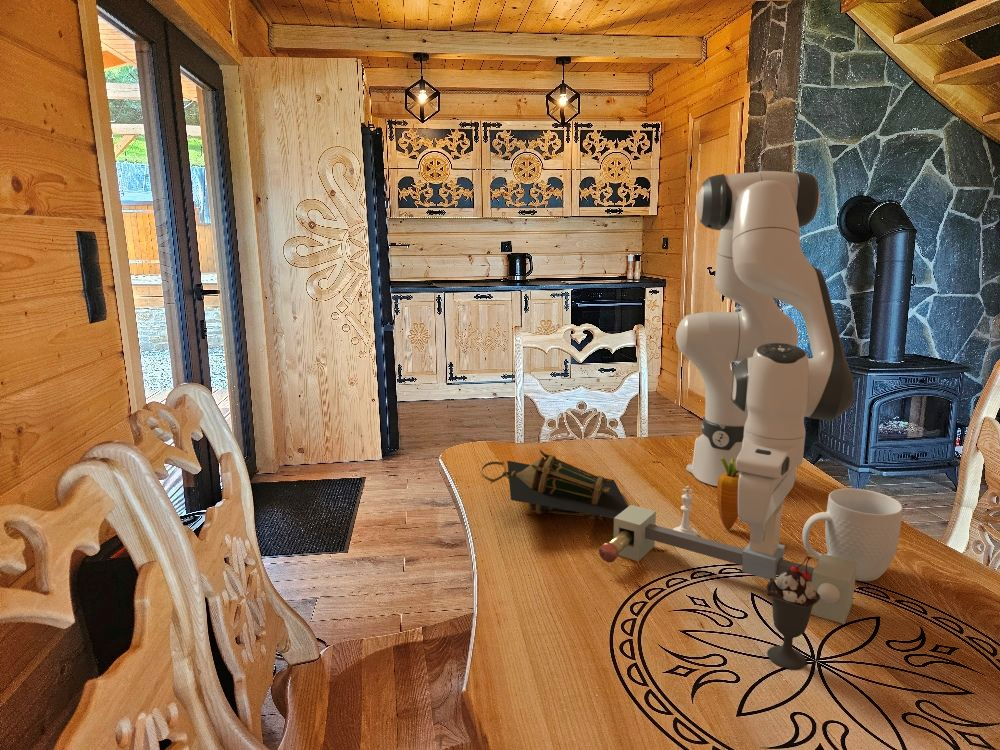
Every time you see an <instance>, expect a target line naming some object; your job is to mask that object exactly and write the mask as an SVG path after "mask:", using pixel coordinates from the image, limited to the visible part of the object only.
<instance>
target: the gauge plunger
mask: <svg viewBox="0 0 1000 750" xmlns="http://www.w3.org/2000/svg"><path fill="white" fill-rule="evenodd" d="M633 540H634V531H631V530H627V529H624V530H623V531H622V532H621V533H620V534H618V535H617V536H616V537H615V538H614V539H613V538H612V539H611V540H610V541H609V542H604V543H603V544H601V545H600V546H599V548H598V555H599V556H600V558H601V559H602V560H603V561H604V562H607V563H614V561H616V559H618V556H619V555H618V553H620V552H621V551H622V550H623V549H624V548H625V547H626V546H627V545H629V544H630V543H631V542H632V541H633Z"/></svg>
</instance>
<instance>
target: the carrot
mask: <svg viewBox="0 0 1000 750" xmlns="http://www.w3.org/2000/svg"><path fill="white" fill-rule="evenodd" d="M721 461H722V462H723V464H724V467H725V469H726V471H727V473H724V474H722V475H721V476H720V477H719V478H718V486H716V487H717V491H716V492H717V493H716V497H717V498H716V499H717V508H718V513H719V517H720V520H721V522H722V524H723V526H724V528H725V530H727V531H729V530H731V529H732V528H733V527H734V525H735V524H736V521H737V520H738V518H739V516H738V479H739V475H738V474H737V473H738V472H740V471H737V470H736V463H735V465H734V458H732V459H731V462H730V464H729V466H728V465H727V462H726V460H725V459H724V458H723V457H722V458H721Z"/></svg>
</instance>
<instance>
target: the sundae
mask: <svg viewBox="0 0 1000 750" xmlns="http://www.w3.org/2000/svg"><path fill="white" fill-rule="evenodd" d="M811 559H812V556H809V555H808V556H807V555H806V556H805V559H804V561H803V562H802V563H800V564H801V565H804V563H805V562H806V564H805V565H806V569H805V570H806V572H802V573H800V569H799V567H800V566H801V565H799V566H798V567H796V566H793V567H791V569H790V570H787V571H784V572H783V573H782V574H780V575H779V576H778V575H777V578H776V579H775V580H774V579H773V578H771V577H769V579H770V580H769V579H768V580H769V582H767V583H766V586H765V587H766V593H767V596H768V597H771V604H772V606H771V607H772V618H773V624H774V625H773V626H774V627H775V628H776V629H777V631H778V632H779V633H780V635H781V634H782V636H783V642H782V645H774V646H771V647H769V649H768V650H767V653H766V654H767V658H769V660H770V661H771V662H772V663H773V664H775V665H776V666H778V667H780V668H785V669H789V670H799V669H802V668H803V667H805V666H806V665H807V659H806V657H805V656H804V654H803V653H802V652H800V651H799V650H797V649H795V648H793V641H794V638H798V637H800V636H802V635H803V634H804V633H805V631H806V629H807V627H808V624H809V621H810V617H811V610H812V607H813V605H814V604H816V603H817V602H818V601H819V599H820V595H819V594H818V593H817V592H816V591H815V588H814V586H813V584H812V583H811V582H810V581H809V579H810V574H809V573H808V572H807V566H808V564H809V563H808V562H809V560H811Z"/></svg>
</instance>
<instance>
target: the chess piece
mask: <svg viewBox="0 0 1000 750" xmlns="http://www.w3.org/2000/svg"><path fill="white" fill-rule="evenodd" d="M685 487H686V488H682V493H684V494H682V495H681V500H682V504H683V505H681V506H680V509H681V511H683V513H682V519H681V523H680V525H679V526H676V527H673V529H672V530H675V531H679V532H683V533H687V534H690V535H694V536H698V537H699V532H698V531H697V530H696V529H695V528H694V527H693V528H692V526H691V524H690V512H691V511H692V510H693V507H692V506H691V503H692V500H693V495H691V493H693V489H690V486H689V485H687V486H685Z"/></svg>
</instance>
